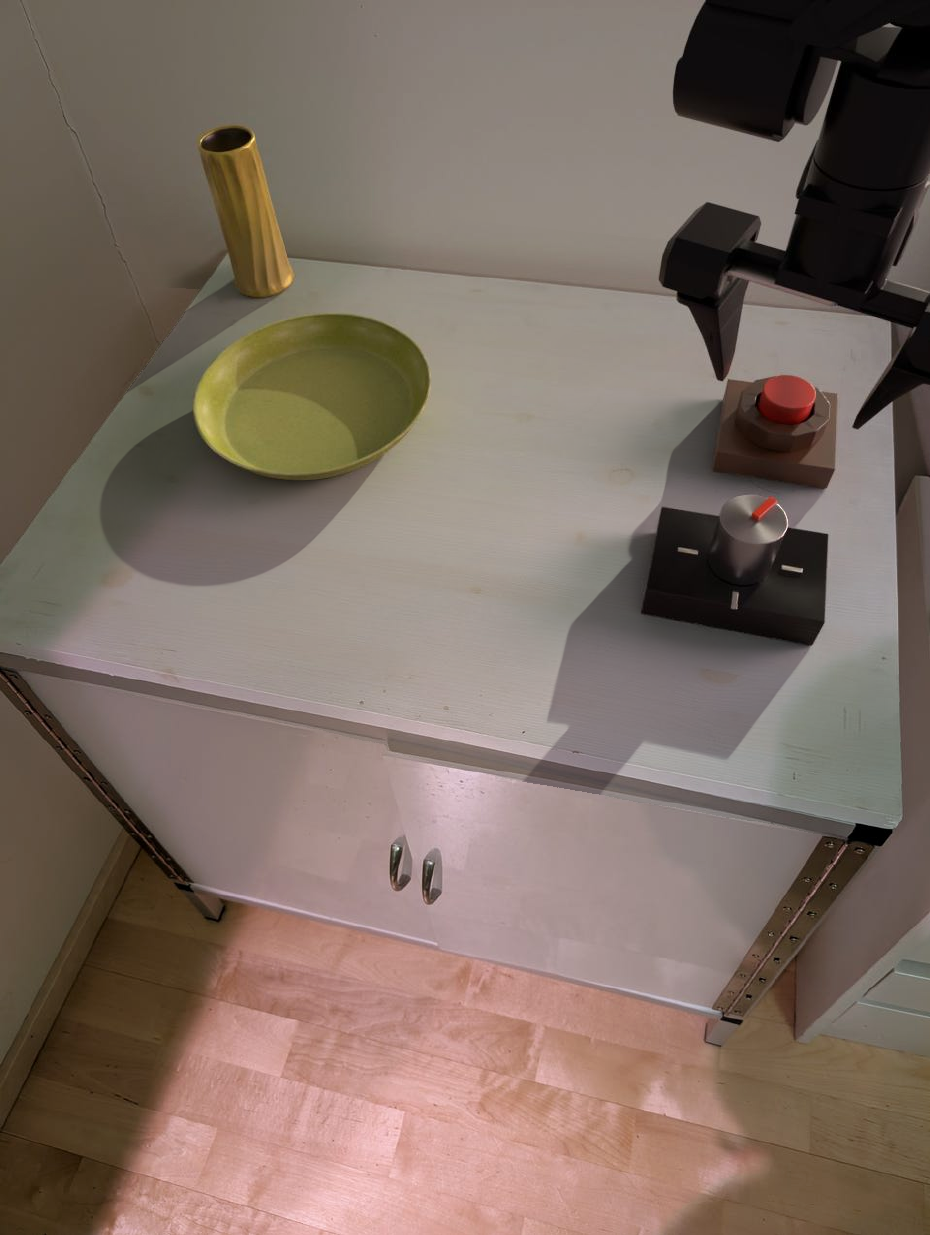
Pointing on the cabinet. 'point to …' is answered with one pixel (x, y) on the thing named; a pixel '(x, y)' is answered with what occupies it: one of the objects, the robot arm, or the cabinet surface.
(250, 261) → the vase
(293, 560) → the cabinet surface
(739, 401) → the button block
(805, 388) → the button
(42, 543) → the cabinet surface
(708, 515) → the panel
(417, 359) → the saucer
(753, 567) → the knob
